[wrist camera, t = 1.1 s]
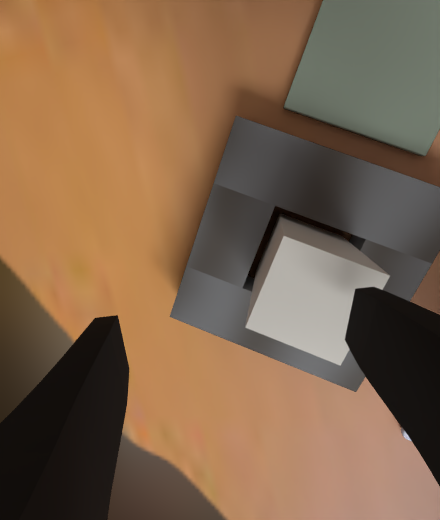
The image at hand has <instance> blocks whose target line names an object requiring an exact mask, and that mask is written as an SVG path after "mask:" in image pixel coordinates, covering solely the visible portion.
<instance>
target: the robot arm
mask: <svg viewBox="0 0 440 520" xmlns="http://www.w3.org/2000/svg"><path fill="white" fill-rule="evenodd" d="M345 341H346V343H347V345H348V347H349V349H350V351H351V353H352V355H353V357H354V359H355V360H356V362H357V364H358V366H359V367H360V369H361V371H362V372H363V373H364V375H365V376H366V378H367V379H368V381H369V382H370V383H371V385H372V386H373V388H374V389H375V390H376V392H377V393H378V395H379V396H380V397H381V399H382V400H383V402H384V403H385V404H386V406H387V407H388V408H389V410H390V411H391V413H392V414H393V415H394V417H395V418H396V419H397V421H398V422H399V424H400V425H401V426H402V428H401V433H402V435H403V436H404V438H406V439H407V440H410V441H412V442H413V444H414V445H415V447H416V448H417V450H418V451H419V452H420V454H421V456H422V457H423V459H424V461H425V462H426V464H427V466H428V467H429V469H430V471H431V472H432V474H433V476H434V478H435V479H436V481H437V483H438V484H439V486H440V315H438V314H436V313H434V312H432V311H430V310H427V309H425V308H423V307H421V306H418V305H416V304H414V303H412V302H410V301H407V300H405V299H403V298H401V297H398V296H396V295H394V294H391V293H389V292H387V291H384V290H381V289H379V288H376V287H366V288H357V289H355V292H354V297H353V302H352V307H351V311H350V316H349V321H348V326H347V330H346V335H345ZM128 382H129V365H128V361H127V356H126V351H125V347H124V342H123V337H122V333H121V328H120V324H119V319H118V315H117V316H108V317H99V318H95V319H94V320H93V321H92V322H91V323H90V325H89V326H88V327H87V328H86V329H85V330H84V332H83V333H82V334H81V335H80V337H79V338H78V339H77V340H76V341H75V343H74V344H73V345H72V346H71V347H70V349H69V350H68V351H67V352H66V354H64V356H63V357H62V358H61V359H60V360H59V362H57V364H56V365H55V366H54V367H53V368H52V369H51V370H50V372H49V373H48V374H47V375H46V376H45V377H44V378H43V380H42V381H41V382H40V383H39V384H38V385H37V386H36V387H35V388H34V389H33V390H32V391H31V392H30V393H29V395H27V397H26V398H25V399H24V400H23V401H22V402H21V403H20V404H19V405H18V406H17V407H16V408H15V409H14V410H13V411H12V412H11V413H10V414H9V415H8V416H7V417H6V418H5V419H4V420H3V421H2V422H1V423H0V520H107V519H108V510H109V503H110V496H111V489H112V483H113V479H114V473H115V468H116V462H117V457H118V451H119V446H120V440H121V435H122V429H123V424H124V418H125V412H126V406H127V397H128Z"/></svg>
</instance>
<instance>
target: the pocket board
mask: <svg viewBox="0 0 440 520" xmlns="http://www.w3.org/2000/svg"><path fill="white" fill-rule="evenodd" d="M275 206H277V207H280V208H283V209H285V210H288V211H291V212H293V213H296V214H299V215H302V216H304V217H307V218H310V219H312V220H315V221H318V222H320V223H323V224H326V225H329V226H331V227H334V228H337V229H339V230H342V231H345V232H348V233H350V234H353V235H352V237H351V239H350V241H349V242H350V243H351V244H352V245H353V246H355V247H356V248H357V249H358V250H360V251H361V252H362V253H363V254H364V255H366V256H367V257H368V258H369V259H370V260H372V261H373V262H374V263H375V264H377V265H378V266H379V267H380V268H381V269H383V270H384V271H385V272H386V273H387V274H389V275H390V277H389V279H388V281H387V283H386V284H385V286H384V288H383V290H384V291H387V292H389V293H391V294H394V295H396V296H398V297H401V298H403V299H405V300H407V301H410V300H411V298H412V297H413V295H414V293H415V292H416V290H417V288H418V287H419V285H420V283H421V281H422V280H423V278H424V276H425V275H426V273H427V271H428V270H429V268H430V266H431V265H432V263H433V261H434V259H435V258H436V256H437V254H438V253H439V251H440V187H438V186H435V185H432V184H429V183H426V182H424V181H421V180H418V179H415V178H412V177H409V176H407V175H404V174H401V173H398V172H395V171H392V170H389V169H387V168H384V167H381V166H378V165H375V164H372V163H370V162H367V161H364V160H361V159H358V158H355V157H352V156H350V155H347V154H344V153H341V152H338V151H335V150H333V149H330V148H327V147H324V146H321V145H318V144H315V143H313V142H310V141H307V140H304V139H301V138H298V137H296V136H293V135H290V134H287V133H284V132H281V131H279V130H276V129H273V128H270V127H267V126H264V125H261V124H259V123H256V122H253V121H250V120H247V119H244V118H242V117H239V116H236V117H235V120H234V123H233V126H232V129H231V132H230V135H229V138H228V142H227V145H226V148H225V151H224V154H223V157H222V160H221V163H220V166H219V169H218V172H217V175H216V178H215V181H214V184H213V187H212V190H211V193H210V196H209V199H208V202H207V205H206V208H205V211H204V214H203V217H202V220H201V223H200V226H199V229H198V233H197V236H196V239H195V242H194V245H193V248H192V251H191V254H190V257H189V260H188V263H187V266H186V269H185V272H184V275H183V278H182V281H181V284H180V287H179V290H178V293H177V296H176V299H175V302H174V305H173V308H172V311H171V314H170V317H172V318H174V319H177V320H179V321H182V322H184V323H186V324H189V325H191V326H194V327H196V328H199V329H201V330H204V331H206V332H209V333H211V334H214V335H216V336H219V337H221V338H224V339H226V340H228V341H231V342H233V343H236V344H238V345H241V346H243V347H246V348H248V349H251V350H253V351H256V352H258V353H261V354H263V355H266V356H268V357H270V358H273V359H275V360H278V361H280V362H283V363H285V364H288V365H290V366H293V367H295V368H298V369H300V370H303V371H305V372H308V373H310V374H312V375H315V376H317V377H320V378H322V379H325V380H327V381H330V382H332V383H335V384H337V385H340V386H342V387H345V388H347V389H350V390H352V391H354V392H356V391H357V390H358V388H359V386H360V385H361V383H362V381H363V380H364V378H365V375H364V373H363V372H362V371H361V369H360V367H359V366H358V364H357V362H356V360H355V359H354V357H353V355H352V353H351V351H350V349H349V351H348V353H347V355H346V357H345V358H344V360H343V362H342V364H341V366H340V365H337V364H335V363H332V362H330V361H327V360H325V359H322V358H320V357H317V356H315V355H313V354H310V353H308V352H305V351H303V350H300V349H298V348H295V347H293V346H290V345H288V344H285V343H283V342H280V341H278V340H275V339H273V338H270V337H268V336H265V335H263V334H260V333H258V332H255V331H253V330H250V329H248V328H245V326H246V321H247V316H248V310H249V305H250V300H251V295H252V289H253V284H254V279H255V278H252V277H249V276H247V275H248V273H249V270H250V268H251V265H252V263H253V260H254V258H255V255H256V253H257V250H258V248H259V245H260V243H261V240H262V238H263V235H264V233H265V230H266V228H267V225H268V223H269V220H270V218H271V215H272V213H273V210H274V208H275Z"/></svg>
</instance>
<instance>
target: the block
mask: <svg viewBox="0 0 440 520" xmlns="http://www.w3.org/2000/svg"><path fill="white" fill-rule="evenodd" d="M389 277H390V275H389V274H387V273H386V272H385V271H384V270H383V269H381V268H380V267H379V266H378V265H377V264H375V263H374V262H373V261H372V260H370V259H369V258H368V257H367V256H366V255H364V254H363V253H362V252H361V251H360V250H358V249H357V248H356V247H355V246H353V245H352V244H351V243H350V242H349V241H347V240H346V239H345V238H344V237H343V236H340V235H338V234H335V233H332V232H330V231H327V230H324V229H322V228H319V227H316V226H313V225H311V224H308V223H305V222H303V221H300V220H297V219H295V218H292V217H289V216H286V215H284V214H281V213H279V216H278V218H277V221H276V223H275V225H274V228H273V230H272V233H271V235H270V238H269V240H268V243H267V245H266V248H265V250H264V252H263V255H262V257H261V260H260V262H259V265H258V267H257V270H256V274H255V279H254V284H253V289H252V295H251V300H250V305H249V310H248V316H247V321H246V326H245V328H248V329H250V330H253V331H255V332H258V333H260V334H263V335H265V336H268V337H270V338H273V339H275V340H278V341H280V342H283V343H285V344H288V345H290V346H293V347H295V348H298V349H300V350H303V351H305V352H308V353H310V354H313V355H315V356H317V357H320V358H322V359H325V360H327V361H330V362H332V363H335V364H337V365H340V366H341V364H342V362H343V360H344V358H345V357H346V355H347V353H348V351H349V347H348V345H347V343H346V341H345V335H346V330H347V326H348V321H349V316H350V311H351V307H352V302H353V297H354V292H355V289H357V288H366V287H376V288H379V289H381V290H383V288H384V286H385V284H386V283H387V281H388V279H389Z"/></svg>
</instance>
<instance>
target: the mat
mask: <svg viewBox="0 0 440 520" xmlns="http://www.w3.org/2000/svg"><path fill="white" fill-rule="evenodd" d="M284 109H287V110H290V111H292V112H295V113H298V114H301V115H304V116H307V117H310V118H313V119H316V120H318V121H321V122H324V123H327V124H330V125H333V126H336V127H339V128H342V129H345V130H347V131H350V132H353V133H356V134H359V135H362V136H365V137H368V138H371V139H373V140H376V141H379V142H382V143H385V144H388V145H391V146H394V147H397V148H399V149H402V150H405V151H408V152H411V153H414V154H417V155H420V156H426V154H427V152H428V150H429V148H430V146H431V144H432V143H433V141H434V139H435V137H436V135H437V133H438V131H439V129H440V0H323V2H322V5H321V8H320V10H319V13H318V16H317V18H316V21H315V24H314V26H313V29H312V32H311V35H310V37H309V40H308V43H307V45H306V48H305V51H304V53H303V56H302V59H301V62H300V64H299V67H298V70H297V72H296V75H295V78H294V80H293V83H292V86H291V89H290V91H289V94H288V97H287V99H286V102H285V105H284Z"/></svg>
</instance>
